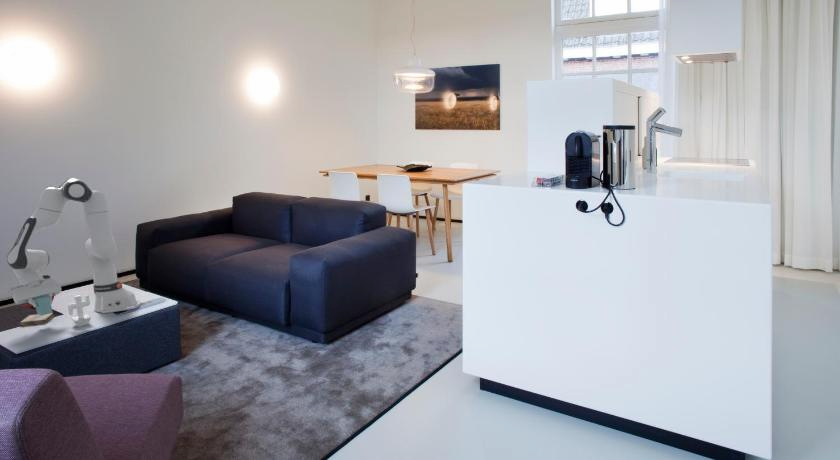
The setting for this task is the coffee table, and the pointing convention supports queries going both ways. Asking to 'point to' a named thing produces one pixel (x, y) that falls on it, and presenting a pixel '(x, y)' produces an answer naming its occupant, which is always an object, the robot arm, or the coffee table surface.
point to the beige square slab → (36, 319)
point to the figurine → (80, 310)
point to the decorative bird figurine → (32, 305)
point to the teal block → (43, 305)
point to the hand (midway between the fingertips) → (43, 304)
